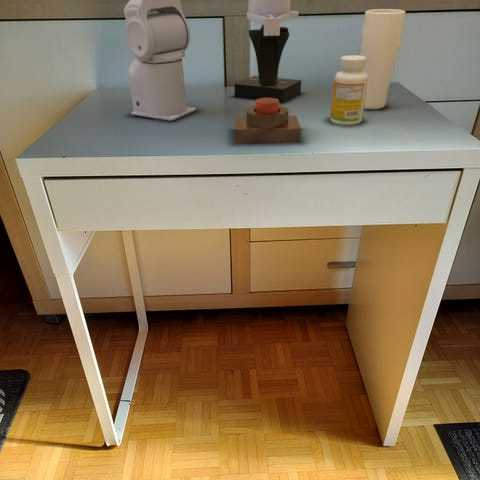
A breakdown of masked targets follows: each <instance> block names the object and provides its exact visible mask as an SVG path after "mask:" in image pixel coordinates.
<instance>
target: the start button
mask: <svg viewBox="0 0 480 480" xmlns="http://www.w3.org/2000/svg"><path fill="white" fill-rule="evenodd" d="M279 105H280V103H279V100H278V99H275V98H260V99H257V100H255V106H256V112H257V113H262V114H272V113H278V112H279Z"/></svg>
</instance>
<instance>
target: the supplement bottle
mask: <svg viewBox="0 0 480 480" xmlns="http://www.w3.org/2000/svg"><path fill="white" fill-rule="evenodd" d="M365 65H366V57H364V56H360V54H359V55H357V54H351V55H350V54H349V55H343V56H341V57H340V62H339V67H340V71H337V72H336V73H335V75H334V79H333V89H332V97H331V98H332V99H331V110H330V121H331V122H332V123H333V124H337V125H341V126H342V125H343V126H352V125H354V126H355V125H358V124H360V123H361V122H362V121H363V116H364V102H365V95H366V88H367V81H368V75H367V74H366V73H365V72H364V71H363V68H365Z"/></svg>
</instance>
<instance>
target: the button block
mask: <svg viewBox="0 0 480 480" xmlns="http://www.w3.org/2000/svg"><path fill="white" fill-rule="evenodd" d="M234 123H235V125H234V127H235V129H234V131H235V132H234V134H235V144H236V145H245V144H246V145H247V144H248V145H249V144H250V145H251V144H295V143H296V144H299V143H301V134H302V128H301V125H300V121H299V119H298V116H297V115H289V108H288V107H286V106H283V105H280V104H279V112H278V113H272V114H262V113H257V112H256V105H251V106H249V107H248V108H246V109H245V116H235V121H234Z"/></svg>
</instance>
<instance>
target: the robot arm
mask: <svg viewBox="0 0 480 480" xmlns="http://www.w3.org/2000/svg"><path fill="white" fill-rule="evenodd" d="M247 2H248V3H247V4H248V5H247V6H248V8H247V9H248V11H246V19H247V20H248V21H251V22H255V23H258V24H260V25H261V27H260V28H259V29H249V30H248V37H249V38H250V42H251V43H252V46H253V49H254V53H255V59H256V65H257V75H258V74H259V80H260V85H261V86H275V82H276V78H277V74H278V75H279V68H280V63H281V59H282V54H283V53H284V52H283V51H284V49H285V46H286V44H287V42H288V40H289V37H290V32H289V28H288V27H286V26H281V24H283V23H284V22H287V21H289V20H291V19H298V18H299V11H298V10H291V0H247ZM150 12H151V13H150ZM152 12H157V13H152ZM123 13H124V14H123V15H124V18H125V24H126V25H125V26H126V28H125V29H126V30H125V35H126V36H125V38H126V42H127V44H128V47H129V49H130V51H131V53H132V54H133V55H134V57H135V59H134V60H132V61H131V62H130V65H129V69H128V82H129V89H130V94H131V99H132V100H131V101H132V107H133V110H132V111H130V114H131V115H132V116H138V117H144V118H150V119H157V120H163V121H169V122H172V121H176V120H177V119H180V118H182V117H184V116H187V115H189V114H191V113H193V112H196V111H197V107H194V106H187V99H186V87H185V76H184V75H185V74H184V73H185V72H184V63H183V62H184V61H183V58H185V57H186V50H187V49H188V48H189V45H190V42H191V29H190V25H189V23H188V20H187V18H186V16H185V14H184V12H183V8H182V3H181V0H129V1H128V2H127V4H125V6H124V9H123ZM148 13H149V14H148Z"/></svg>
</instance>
